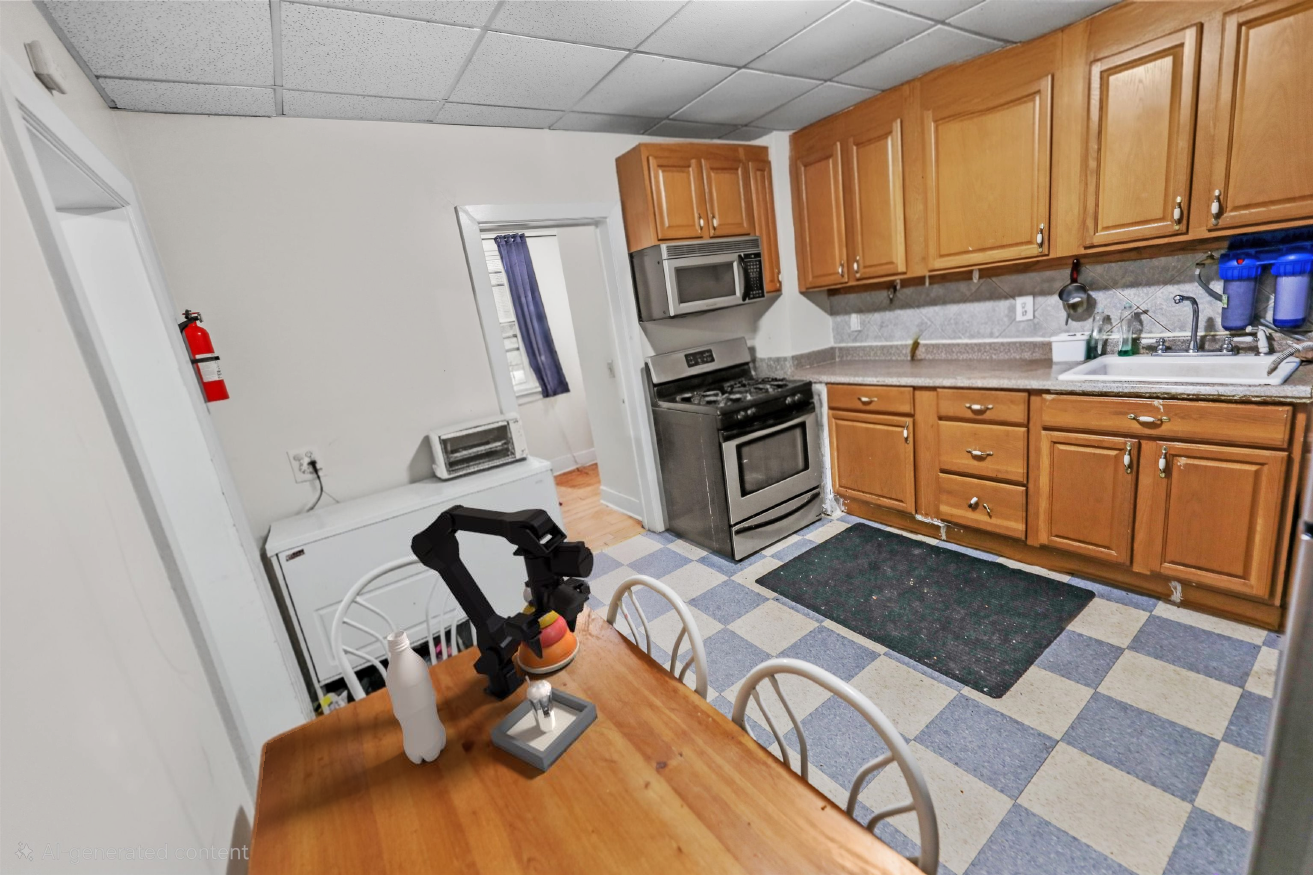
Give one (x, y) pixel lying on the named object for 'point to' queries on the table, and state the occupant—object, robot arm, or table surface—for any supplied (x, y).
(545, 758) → the gray square tray
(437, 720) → the water bottle
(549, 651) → the stacking toy
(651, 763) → the table surface
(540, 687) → the milkshake
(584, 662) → the table surface
